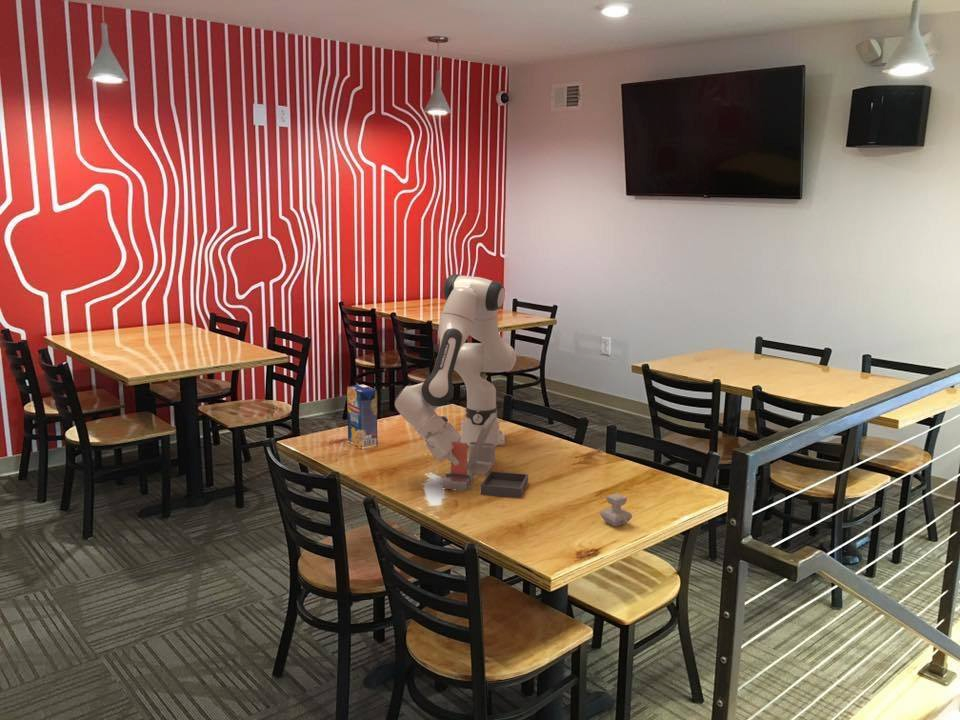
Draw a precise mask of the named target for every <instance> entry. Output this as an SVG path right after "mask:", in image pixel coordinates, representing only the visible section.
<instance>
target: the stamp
mask: <svg viewBox="0 0 960 720" xmlns="http://www.w3.org/2000/svg"><path fill="white" fill-rule="evenodd" d="M605 500H606V501H607V503H608V504H609V505H611V507H609V508H605V509H601V510H600V512H599V515H600V516H601V518H602V520H603V521H604V522H605V523H607V524H609V525H611V526H613V527H619V526H622V525H626V524H628V522H630V520H631V519H632V518H633V514H632V513H631V512H630V511H627V510H626V509H624V508H621V507H622V506H624V505H626V503H627V501H628V500H627V497H626V496H624V495H621V494H619V493H614V494H610V495H607V496H606V498H605Z"/></svg>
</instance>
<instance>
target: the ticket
mask: <svg viewBox="0 0 960 720" xmlns="http://www.w3.org/2000/svg"><path fill="white" fill-rule="evenodd" d="M452 445H453V446H454V448H453V449H452V450H451V451H450V452H451V453H452V455H453V456H454V457H456V458H458V459H459V460H460V462H459V464H458V465H456V466H455V465H454V464H453V463H452V462H451V461H450V467H451V468H450V470H451V474H458V475H467V459H468V446H467V443H462V442H452Z"/></svg>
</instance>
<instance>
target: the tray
mask: <svg viewBox="0 0 960 720" xmlns="http://www.w3.org/2000/svg"><path fill="white" fill-rule="evenodd" d="M528 485H529V473H519V472H507V471H496V470H489V472H488V473H487V475H485V477H484V478H483V481H482V482H481V484H480V495H484V496H494V497H503V498H505V497H506V498H514V499H515V498H516V499H522V497H523V495H524V493H525V490H526V489H527V487H528Z"/></svg>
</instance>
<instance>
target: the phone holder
mask: <svg viewBox="0 0 960 720" xmlns="http://www.w3.org/2000/svg"><path fill="white" fill-rule="evenodd" d="M496 417H497V418H498V414H497V415H496V414H494V413H492V415H491V416H490V417H489V418H488V419H487V420H486V421H485V423H484V425H483V427H482V429H481V431H480V434H479V436H478V439H477V442H470V443H469V444H468V446H467V470H475V476H487V474H488V473H489V471H491V469H492V467H493V466H494V464H495V463H496V446H495V444H492V443H484V442H485V440H486V438H487V436H488V434H489V432H490V430H491V428H492V426H493V424H494V422H495V420H496Z"/></svg>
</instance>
